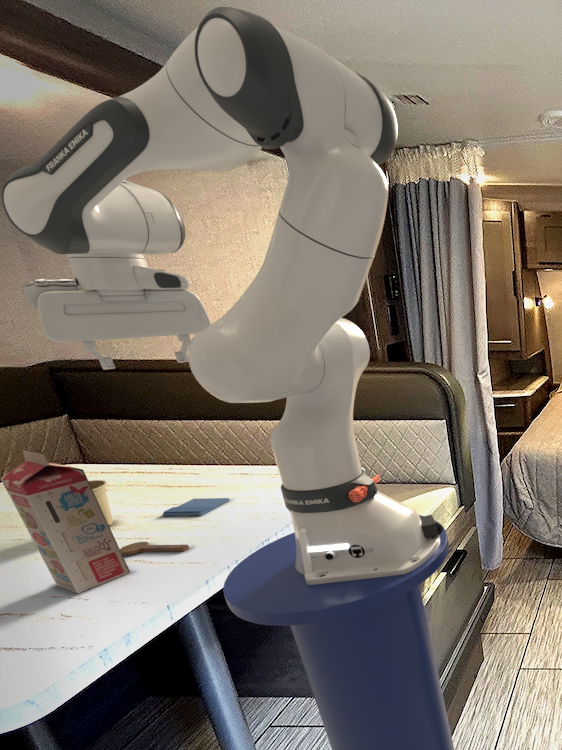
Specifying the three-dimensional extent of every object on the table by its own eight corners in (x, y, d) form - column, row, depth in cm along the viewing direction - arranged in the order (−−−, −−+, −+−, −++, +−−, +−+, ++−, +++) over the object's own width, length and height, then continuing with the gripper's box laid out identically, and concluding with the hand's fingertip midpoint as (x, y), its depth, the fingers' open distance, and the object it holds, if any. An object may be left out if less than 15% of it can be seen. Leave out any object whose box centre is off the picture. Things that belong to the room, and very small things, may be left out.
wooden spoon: (195, 544, 93) (194, 540, 93) (177, 555, 90) (175, 551, 89) (135, 545, 94) (133, 541, 93) (114, 556, 90) (112, 552, 89)
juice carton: (109, 565, 87) (52, 444, 79) (130, 572, 84) (73, 448, 76) (56, 585, 81) (-11, 457, 73) (77, 593, 79) (10, 462, 71)
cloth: (229, 500, 113) (228, 496, 112) (200, 515, 105) (199, 512, 105) (194, 501, 113) (193, 497, 112) (163, 516, 105) (161, 512, 105)
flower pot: (45, 535, 98) (24, 495, 95) (105, 515, 106) (88, 477, 103) (76, 542, 95) (55, 500, 92) (135, 520, 104) (118, 482, 100)
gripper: (16, 278, 71) (59, 375, 76) (198, 277, 86) (224, 359, 91) (17, 279, 75) (58, 371, 80) (191, 278, 89) (216, 357, 95)
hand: (147, 365), depth 86 cm, fingers open, 8 cm apart
